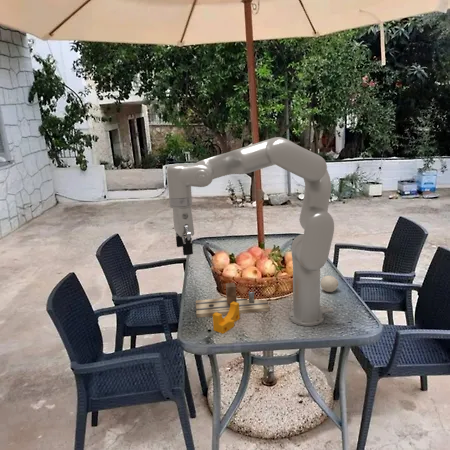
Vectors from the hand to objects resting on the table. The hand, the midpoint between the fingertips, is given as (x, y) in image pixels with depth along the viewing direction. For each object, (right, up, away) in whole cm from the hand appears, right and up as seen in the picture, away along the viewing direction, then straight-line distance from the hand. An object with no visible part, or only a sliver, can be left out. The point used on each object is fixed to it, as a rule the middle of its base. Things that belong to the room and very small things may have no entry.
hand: (184, 250), depth 142 cm
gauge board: (+17, -24, +20) cm, 35 cm away
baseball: (+58, -19, +30) cm, 68 cm away
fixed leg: (+25, -22, +20) cm, 39 cm away
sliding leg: (+17, -22, +20) cm, 34 cm away
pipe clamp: (+15, -28, +7) cm, 32 cm away
